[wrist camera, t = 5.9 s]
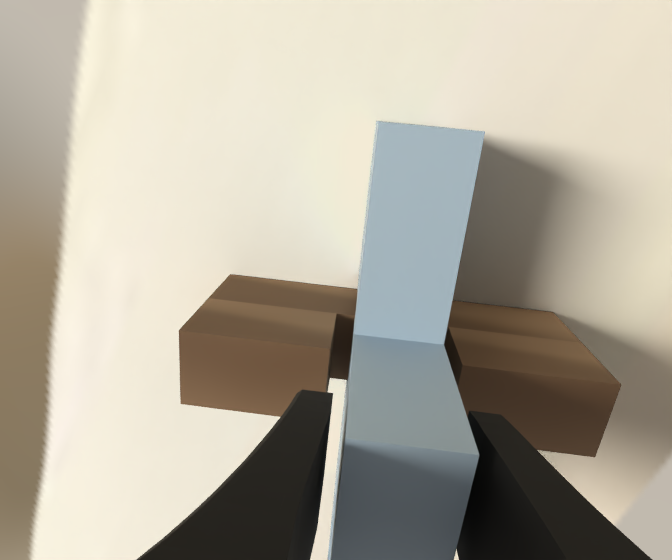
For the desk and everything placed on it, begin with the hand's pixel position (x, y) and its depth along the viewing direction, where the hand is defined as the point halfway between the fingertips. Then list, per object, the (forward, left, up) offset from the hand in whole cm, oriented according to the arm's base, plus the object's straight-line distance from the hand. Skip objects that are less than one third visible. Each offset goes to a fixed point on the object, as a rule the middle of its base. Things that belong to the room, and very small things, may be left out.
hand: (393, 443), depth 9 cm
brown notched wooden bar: (0, 0, -6) cm, 6 cm away
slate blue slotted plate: (0, 0, -6) cm, 6 cm away
